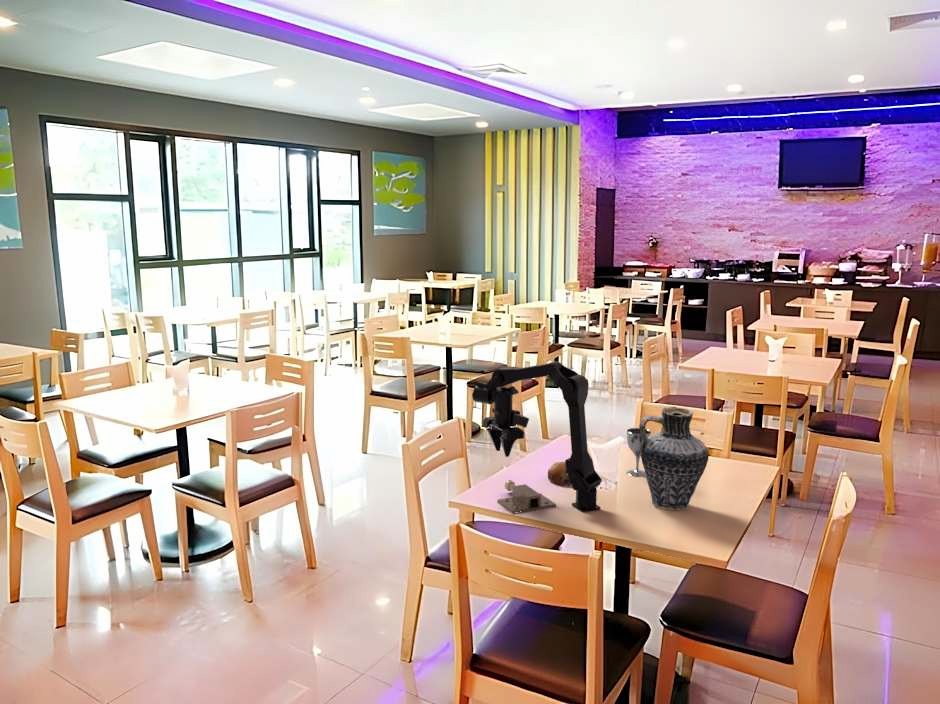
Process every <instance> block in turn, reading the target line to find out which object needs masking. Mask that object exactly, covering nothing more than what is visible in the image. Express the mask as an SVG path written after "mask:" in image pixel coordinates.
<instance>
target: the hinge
mask: <svg viewBox="0 0 940 704" xmlns="http://www.w3.org/2000/svg"><path fill="white" fill-rule="evenodd" d="M496 502H497V503H498V504H499V505H500V506H501V507H502V508H504V509H505V508H506V509H505V510H507V511H508V512H509V511H510V512H509V513H511V512H512V513H513V514H516V513H515V512H519V513H523V512H524V511H525V512H529V511H530V512H531V511H537V510H542V509H548V508H554V507H557V504H556V503H555V502H553V501H552V500H551V499H550V498H548V497H546V496H545V495H544V494H542V493H539V492H537V491H536V490H535V489H533V488H532V487H530V486H529V485H527V484H519V485H515V486H513V491H512V496H511V497H507V498H499V499H497V500H496ZM520 511H521V512H520ZM522 511H523V512H522ZM512 513H511V514H512Z"/></svg>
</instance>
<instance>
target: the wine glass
mask: <svg viewBox="0 0 940 704" xmlns="http://www.w3.org/2000/svg"><path fill="white" fill-rule="evenodd" d="M626 430H627V431H626V440H627V446H628V448H629V449H630V451H631V452H632V453H633V455H634V456H635V463H636V464H635V465H636V467H635V469H630V470H627V471H626V475H628V476H630V477H634V478H636V477H637V478H642V477H643V478H644V477H646V473H645V470H644V471H643V470H640V469H639V467H640V466H639V465H640V459H641V445H642V443H643V437H642V434H641V430H640V427H635V428H634V427H631V428H628V429H626ZM645 433H646V436H647V437H649V436H651V435H652V431H651V430H650V429H648V428H645Z"/></svg>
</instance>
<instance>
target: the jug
mask: <svg viewBox="0 0 940 704" xmlns="http://www.w3.org/2000/svg"><path fill="white" fill-rule="evenodd" d="M693 416H694V411H692V410H689V408H688V409H687V408H683V407H677V406H671V407H663V408H662V409H661V414H659V415H658V416H657V415H656V416H655V415H647V416H644V417H643V418H641V420H640V423H639V428H640V430H641V434H642V437H643V443H642V445H641V457H640V459H641V463H642V467H643V469H644V472H645V473H646V476H645V477H646V480H647V485H648V488H649V493H650V497H651V503H652V505H654V506H655V507H658V508H660V509H663V510H667V511H668V510H669V511H680V510H684V509H686V508H687V507H688V505H689V503H690V501H691V498H693V495H694V492H695V490H696V488H697V487H698V484H699V482H700V479H701V478H702V476H703V474H704V472H705V471H706V467H707V464H708V461H709V457H710V456H709V450H708V448H707V446H706V444H705V443H704V442H703V441H702V439H701V440H700V439H699V438H697V436H696V437H695V436H694V435H692V433H691V429H690V424H691V422H692V419H693ZM648 422H654V423H656V424H661V429H660V431H659V432H656V433H653V434H651V436H649V437H647V436H646V433H645V429H646V427H647V423H648Z"/></svg>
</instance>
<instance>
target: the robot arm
mask: <svg viewBox="0 0 940 704" xmlns="http://www.w3.org/2000/svg"><path fill="white" fill-rule="evenodd" d="M543 377H544V378H545V377H549V378H551V380H552V382H553V383H554V384H555V386H557V387H558V388H559V390H561V393H562V397H563V400H564V401H565V403H566V405H567V408H568V417H569V418H568V419H569V420H568V421H569V433H570V434H569V435H570V446H571V447H570V449H571V455H570V457H568V458H567V459H566V458H565V461H564V462H565V464H566V473H568V478H569V480H571V483H572V484H571V486H572V489H573V491H576V493H575V502H572V503H571V506H573V507H574V508H575V509H577V510H579V511H580V512H583V513H584V512H590V511H595V510H600V509H601V506H600V505H598V504H597V500H598V499H597V497H598V496H597V493H598V490H597V487H599V486H600V485H601V483H602V481H603V479H602V478H601V476H600V475H599V473H597V471H596V469H595V464H594V461H593V458H592V457H591V455H590V453H589V450H588V438H587V437H588V436H587V424H586V423H587V422H586V410H585V408H586V407H585V405H586V401H587V399H588V395H589V380H588V378H586V377H585V376H584V375H582V374H579V373H578V372H577V371H575V370H573V369H571V368H569V367H567V366H565V365H564V364H562V363H561V362H559V361H552V362H548V363H544V364H537V365H530V366H526V367H518V366H504V367H499V368H497V369H494V370H493V372H492V374H491V378H490V379H489V381H488V382H484V381H477V382H476V385H475V386H474V388H473V391H472V400H473V401H474V402H475V403H480V404H486V405H493V404H494V408H491V412H492V413H493V415H494V416H489V417H488V416H487V417H484V419H482V427H484V428H486V431H487V433H488V435H489V437H490V439H491V441H492V444H493V446H494V448H495V451H497V452H498V451H501V447H502V450H503V453H504V456H505V457H506V458H507V457H508V458H509V457H510V454H511V453H512V448H513V446H514V444H515V442H516V441H517V440H521V439H524V438H525V431H524V430H523V429H522V428H520V427H523V428H525V429H526V428H527V427H528V424H529V420H530V418H529V417H527V416H525V415H522V414H521V411H520V410H517V409H513V400H514V398H513V396H514V395H518V394H519V392H520V391H519V390H518V389H517V388H516V387H515V386H514V385H513V386H509V385H512V384H516V383H517V382H519V381H520V382H521V381H524V380H530V379H537V378H543ZM505 386H509V387H505ZM518 426H520V427H518Z"/></svg>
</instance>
